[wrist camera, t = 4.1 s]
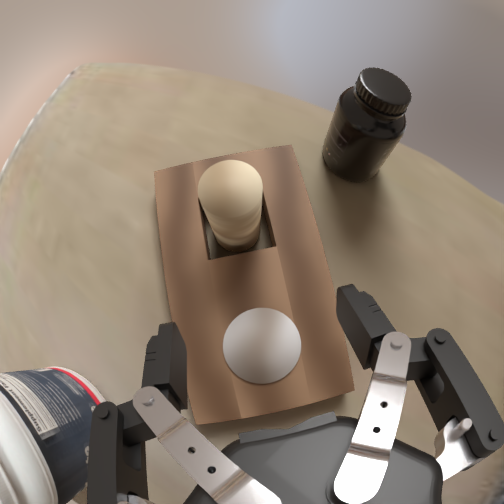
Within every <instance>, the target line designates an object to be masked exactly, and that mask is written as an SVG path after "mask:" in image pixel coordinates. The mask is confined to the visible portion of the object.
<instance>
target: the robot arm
mask: <svg viewBox="0 0 504 504" xmlns="http://www.w3.org/2000/svg"><path fill="white" fill-rule="evenodd" d="M336 314H337V318H338V321H339V323H340V325H341V327H342V329H343V331H344V332H345V334H346V336H347V338H348V340H349V342H350V344H351V346H352V348H353V350H354V352H355V353H356V355H357V357H358V359H359V361H360V363H361V365H362V367H363V369H364V370H365V369H368V368H370V367H371V369H372V370H373V374H372V378H371V381H370V384H369V388H368V391H367V394H366V397H365V400H364V403H363V406H362V409H361V412H360V415H359V418H358V419H356V418H352V417H346V416H335V413H334V411H332V412H329V413H326V414H322V415H319V416H315V417H312V418H310V419H308V420H306V421H304V422H302V423H300V424H298V425H296V426H294V427H292V428H290V429H261V430H255V431H250V432H244V433H239V438H240V439H238V440H236V441H234V442H232V443H230V444H229V445H227V446H226V447H225V448H224V449H223V450H222V451H221V452H220V451H219V450H218V449H217V448H216V447H215V446H214V445H213V444H212V443H211V442H210V441H208V440H207V439H206V438H205V437H204V436H203V435H202V434H201V433H200V432H199V431H198V430H197V429H196V428H195V427H194V426H193V425H192V424H191V423H190V422H189V421H188V420H187V419H186V418H184V417H183V416H182V415H181V410H183V409H187V349H186V345H185V342H184V340H183V338H182V336H181V333H180V331H179V329H178V327H177V325H176V323H175V322H171V323H165V324H160V325H159V331H158V335H157V336H152V337H151V339H150V340H149V342H148V344H147V348H146V355H145V363H144V371H143V379H142V387H141V389H140V390H138V391H137V392H136V394H135V395H134V397H133V399H132V400H131V401H128V402H126V403H123V404H120V405H118V406H116V405H115V404H113V403H112V402H108V401H106V402H102V403H100V404H98V405H97V406H96V407H95V408H94V410H93V413H92V420H91V430H90V440H89V454H88V475H87V504H155V503H153V502H151V501H149V498H148V486H147V472H146V451H145V441H147V440H150V439H153V438H155V437H158V440H159V442H160V443H161V444H162V445H163V447H164V448H165V449H166V450H167V451H168V452H169V453H170V455H171V456H172V457H173V458H174V459H175V460H176V461H177V462H178V464H179V465H180V466H181V467H182V468H183V469H184V470H185V471H186V472H187V473H188V474H189V475H190V476H191V477H192V478H193V479H194V480H195V481H196V482H197V483H198V484H197V486H196V487H195V488H194V490H193V491H192V493H191V494H190V495H189V497H188V498H187V499H186V501H185V502H184V503H183V504H442V500H441V494H442V485H443V480H445V479H447V478H449V477H450V476H452V475H454V474H455V473H457V472H459V471H465V470H467V469H469V468H471V467H472V466H474V465H475V464H477V463H479V462H480V461H482V460H483V459H485V458H486V457H488V456H489V455H490V454H492V453H493V452H495V451H496V450H497V449H499V448H500V447H501V446H502V445H503V444H504V423H503V421H502V419H501V417H500V415H499V413H498V411H497V409H496V407H495V405H494V404H493V402H492V400H491V398H490V396H489V395H488V393H487V391H486V389H485V388H484V386H483V384H482V383H481V381H480V379H479V378H478V376H477V374H476V373H475V371H474V369H473V368H472V366H471V365H470V363H469V362H468V360H467V358H466V357H465V355H464V354H463V352H462V351H461V349H460V348H459V346H458V345H457V343H456V342H455V340H454V339H453V337H452V336H451V335H450V333H449V332H447V331H446V330H444V329H440V328H436V329H432V330H431V331H429V333H428V334H427V337H422V338H409V337H408V336H407V335H405V334H404V333H401V332H397V331H396V330H395V329H394V327H393V326H392V324H391V323H390V321H389V320H388V318H387V317H386V315H385V314H384V313H383V311H381V308H380V307H379V306H378V305H377V303H376V301H375V300H374V299H373V297H372V296H371V295H369V294H367V293H366V292H364V291H363V292H358V290H357V289H356V288H355V286H354V285H353V284H349V285H345V286H342V287H338V289H337V301H336ZM409 380H414V381H415V383H416V385H417V387H418V389H419V391H420V393H421V395H422V397H423V399H424V401H425V404H426V406H427V408H428V410H429V412H430V414H431V416H432V418H433V421H434V423H435V425H436V427H437V429H438V432H439V433H438V434H437V435H436V437H435V441H434V445H435V449H436V453H435V457H433V456H431V455H429V454H427V453H425V452H423V451H421V450H418V449H416V448H414V447H412V446H410V445H408V444H406V443H404V442H402V441H400V440H398V439H396V438H394V437H395V433H396V430H397V426H398V422H399V418H400V414H401V410H402V406H403V401H404V397H405V392H406V387H407V381H409Z"/></svg>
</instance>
